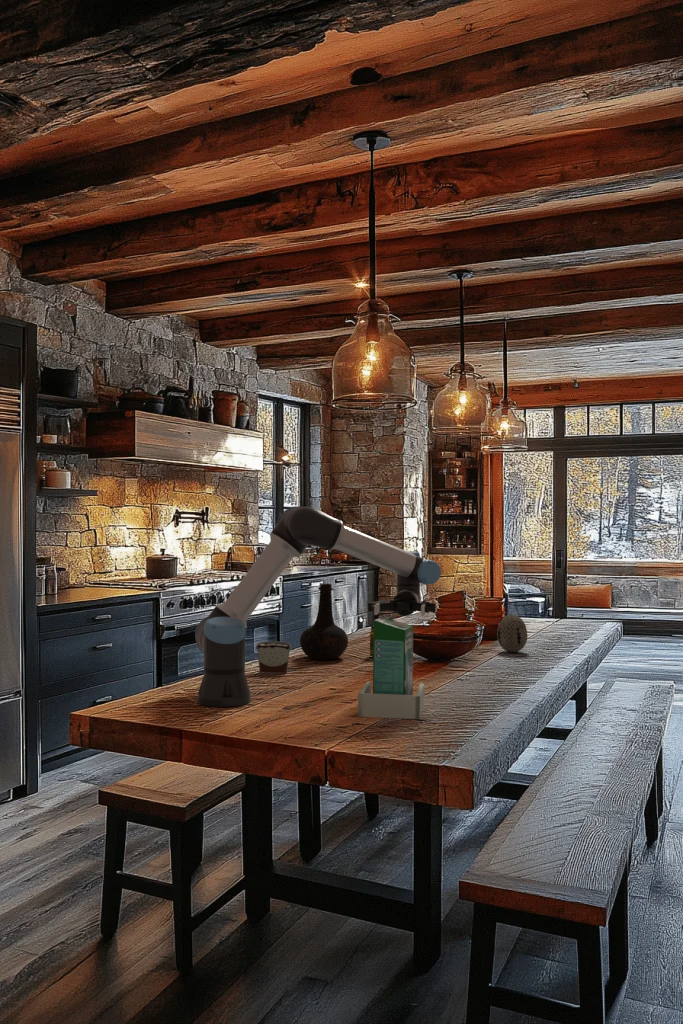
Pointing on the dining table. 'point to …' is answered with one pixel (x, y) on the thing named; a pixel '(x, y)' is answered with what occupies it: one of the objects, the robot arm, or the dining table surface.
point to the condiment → (371, 641)
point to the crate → (390, 704)
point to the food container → (273, 656)
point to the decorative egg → (512, 633)
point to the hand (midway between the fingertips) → (398, 610)
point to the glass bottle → (324, 631)
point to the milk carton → (392, 657)
